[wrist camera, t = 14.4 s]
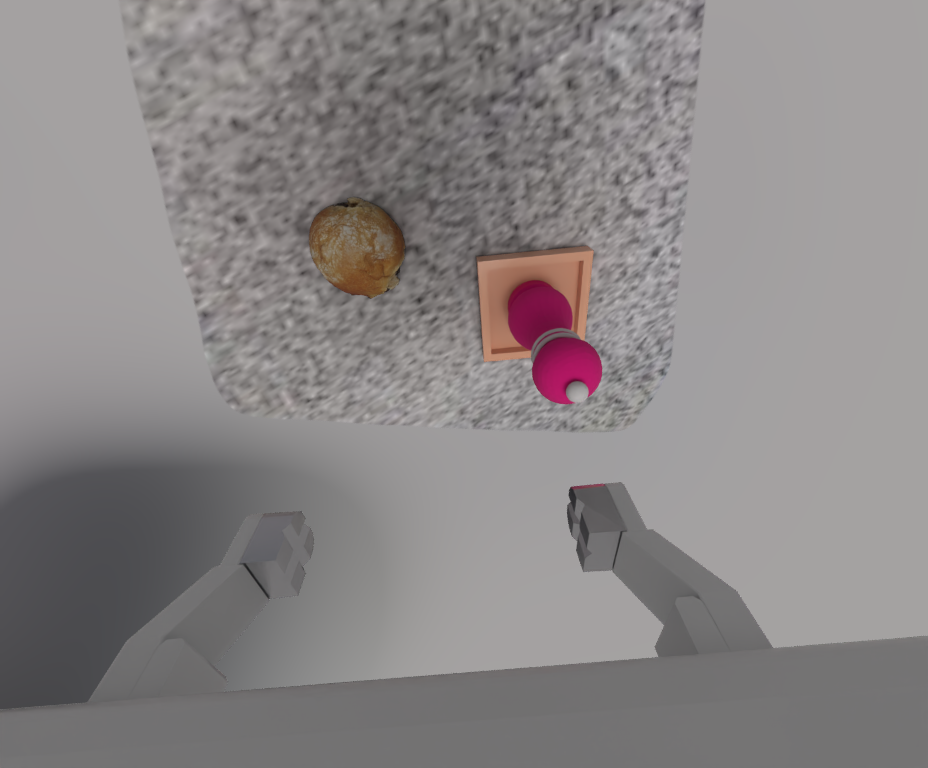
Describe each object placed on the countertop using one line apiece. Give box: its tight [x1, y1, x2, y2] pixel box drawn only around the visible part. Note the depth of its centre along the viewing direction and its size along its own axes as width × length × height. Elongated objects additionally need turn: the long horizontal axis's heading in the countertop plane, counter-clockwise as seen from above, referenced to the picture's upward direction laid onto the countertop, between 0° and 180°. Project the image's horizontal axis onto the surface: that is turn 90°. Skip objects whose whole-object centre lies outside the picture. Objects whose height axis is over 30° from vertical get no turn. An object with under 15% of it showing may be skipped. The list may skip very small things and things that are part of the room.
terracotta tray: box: [476, 246, 594, 362], centre depth 46 cm, size 13×13×2 cm
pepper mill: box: [508, 280, 602, 404], centre depth 38 cm, size 7×7×20 cm
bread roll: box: [309, 197, 405, 299], centre depth 41 cm, size 10×10×8 cm
